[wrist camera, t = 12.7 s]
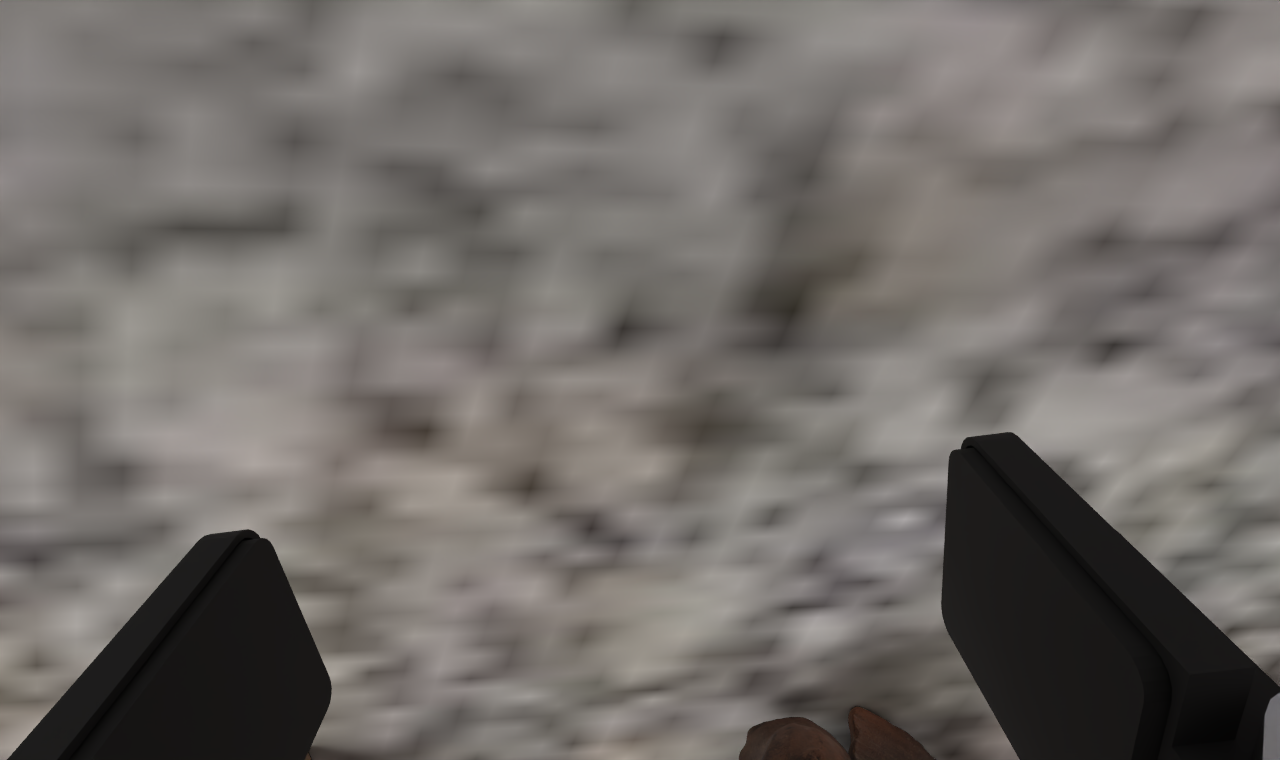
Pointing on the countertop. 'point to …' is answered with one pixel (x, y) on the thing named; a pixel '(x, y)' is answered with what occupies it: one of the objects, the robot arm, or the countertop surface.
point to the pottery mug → (831, 740)
